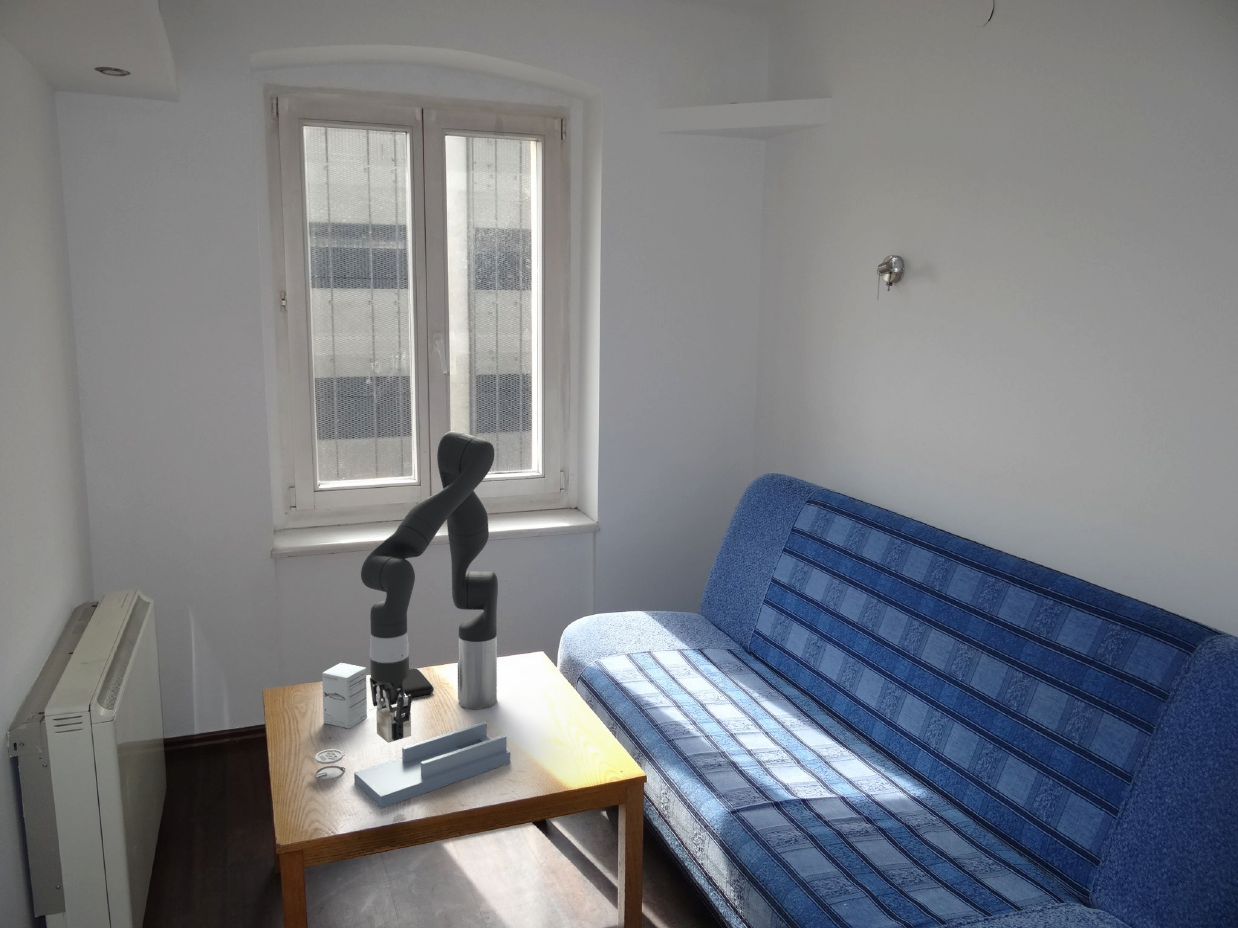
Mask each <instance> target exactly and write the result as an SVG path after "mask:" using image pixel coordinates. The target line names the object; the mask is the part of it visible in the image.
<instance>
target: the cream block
mask: <svg viewBox="0 0 1238 928" xmlns="http://www.w3.org/2000/svg"><path fill="white" fill-rule="evenodd" d="M391 706H392V707H395V706H397V704H394V705H391ZM411 712H412V711H410V719H409V721H406V722H403V738H402V739H405V738H409V737H412V713H411ZM404 714H405V713H404ZM395 717H396V711H395ZM376 734H377V735H378V736H379V737H380V738H381V739H382V740H384V741H385V742H386V743H388V744H389V743H390V744H391V743H392V742H395V741H394V740H393V739H392V721H391V715H390V712H388V711H387V708H384V709H380V710H377V709H376ZM402 739H401V740H402Z"/></svg>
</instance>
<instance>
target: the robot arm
mask: <svg viewBox="0 0 1238 928" xmlns="http://www.w3.org/2000/svg"><path fill="white" fill-rule="evenodd" d="M436 453H437V454H436V456H437V457H436V459H437V460H436V461H437V467H438V473H439V478H440V480H441V481H440V482H441V485H442V489H441V490H439V491H438V492H436V493H434V494H432V495H430V496H428V497H426V498H424V499H423V500H421V501H419V502H418V503H417V504H416V505H414V506H413V507H411V509H410V510H409V512H408V513H407V514H406V515H405V516H404V519H403V520H402V521H401V522H400V524H399V525H398V527H397V529H396V530H395V531H394V532H393V533H392V534H391V535H390V536H389V537H387V538H386V539H385V540H384V541H383V542H381V543H380V544H379V545H378V546H377V547H376V548H375V549H373V550H372V551H371V552H370V553H369V554H368V556H367V557H366V559H365V560H364V561H363V564H362V566H361V569H360V578H361V581H362V584H364V586H366V587H367V588H368V589H372V590H375V591H380V592H383V593H386V596H385V600H380V601H378V602H377V601H376V603H374V604H373V605H372V606H371V608H370V614H369V617H370V639H369V664H370V665H369V667H370V668H369V670H370V672H369V673H370V675H369V676H370V677H369V684H370V690H371V691H370V693H371V699H372V700H371V701H372V706H373V707H376V710H380V709H384V708H387V711H388V712H390V715H391V721H392V739H393V740H394V741H393V742H395V741H399V740H402V738H403V722H406V721H409V719H410V712H411V710H412V709H411V708H412V701H413V699H412V697H411V695H405V694H404V687H403V680H404V679H405V678H407V677H408V675H409V669H410V642H409V641H410V640H409V635H408V609H409V606H410V602H411V599H412V595H413V590H414V586H415V582H416V581H415V580H416V579H415V578H416V574H415V570H414V566H413V565H412V563H411V562H410V561H409V560H408V559H410V558H417V557H420V556H422V555H423V554H424V552H425V551H426V550H427V548H428V547H429V545H430V544H431V543H432V541H433V539H434V538H435V536H436V535H437V533H438V532H439V530H440V529H441V527H442V526H443V525H444V523H446V525H447V535H448V542H449V543H448V544H449V551H450V559H451V561H450V563H451V593H452V594H451V595H452V596H451V597H452V602H453V605H454V606H455V608H457V609H459V610H466V611H467V610H468V611H470V610H471V611H472V610H473V611H475V610H477V611H481V610H482V611H483V612H481V613H480V614H479V615H476V616H475V617H472V618H469V619H466V620H464V621H463V622H461V623H460V625H459V626H458V662H457V699H458V702H459V705H460V706H461V707H463V708H465V709H469V710H483V709H487V708H491V707H492V706H494V705H496V704H497V702H498V699H497V698H498V697H497V696H498V695H497V693H498V690H497V688H498V687H497V686H498V684H497V683H498V681H497V680H498V677H497V676H498V675H497V673H498V671H497V670H498V669H497V667H498V665H497V664H498V662H497V661H498V657H497V656H498V655H497V654H498V652H497V651H498V649H497V648H498V646H497V643H498V641H497V640H498V638H497V637H498V636H497V635H498V633H497V630H498V629H497V625H498V624H497V622H498V621H497V618H498V617H497V609H498V593H499V590H498V589H499V582H498V577H497V574H496V573H495V572H493V571H485V570H484V571H482V570H481V571H480V570H479V571H477V570H476V571H468V569H469V567H470V565H471V564H472V562H473V561H474V560H475V559H476V558H477V557H478V555H479V554H481V552H482V551H483V550H484V548H485V547H486V545H487V543H488V541H489V537H490V535H489V533H490V532H489V519H488V518H489V517H488V513H487V511H486V508H485V506H484V504H483V502H482V501H481V499H480V497H479V496H478V495H477V494H476V492H475V489H476V488H478V486H479V485H480V484H481V483H482V481H484V479H485V478H486V476H487V475H488V474H489V472H490V471H491V469H492V466H493V463H494V461H495V447H494V445H493V444H492V443H491V442H490V441H488V440H486V439H484V438H481V437H479V436H478V437H477V436H475V435H471V434H467V433H465V432H461V431H458V430H457V431H456V430H451V431H447V432H446V433H445V434H443V436H441V438H440V441H439V444H438V447H437V452H436ZM394 705H397V706H395V707H392V706H394ZM395 711H396V717H395ZM404 713H405V714H404ZM403 739H404V738H403Z"/></svg>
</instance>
